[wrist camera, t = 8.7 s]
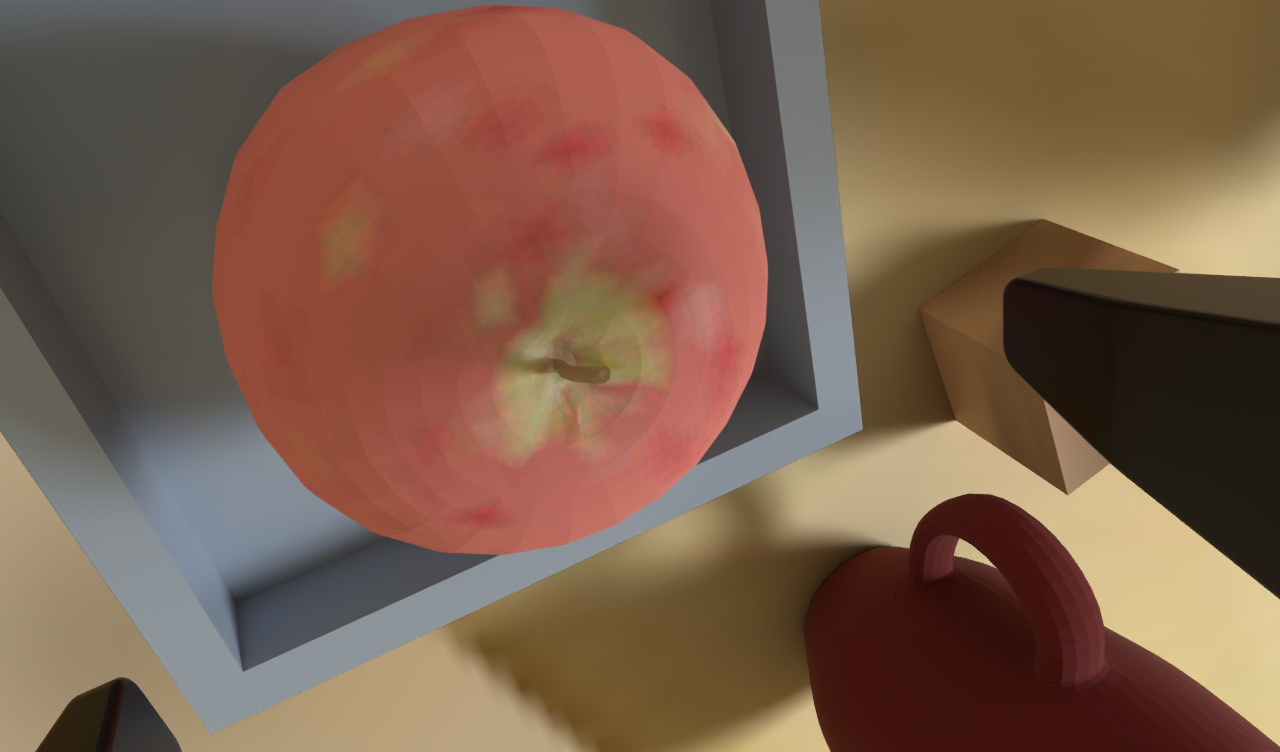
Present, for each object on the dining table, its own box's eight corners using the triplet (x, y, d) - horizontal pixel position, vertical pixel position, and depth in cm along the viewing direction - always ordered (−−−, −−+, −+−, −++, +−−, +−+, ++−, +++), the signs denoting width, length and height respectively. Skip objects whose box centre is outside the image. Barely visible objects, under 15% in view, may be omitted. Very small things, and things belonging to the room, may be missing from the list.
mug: (694, 492, 23) (985, 825, 15) (964, 359, 25) (1356, 588, 17) (764, 758, 28) (1004, 1108, 20) (981, 633, 30) (1280, 906, 22)
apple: (143, 5, 14) (119, 105, 7) (613, -39, 16) (912, 6, 10) (265, 441, 17) (323, 772, 11) (637, 350, 20) (868, 575, 13)
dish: (695, -339, 15) (780, -376, 13) (797, 379, 23) (862, 429, 20) (-289, -127, 12) (-391, -133, 10) (206, 641, 19) (210, 734, 17)
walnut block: (1040, 217, 24) (1178, 269, 21) (1066, 334, 26) (1194, 398, 23) (916, 307, 23) (1037, 374, 20) (953, 418, 26) (1067, 495, 22)
